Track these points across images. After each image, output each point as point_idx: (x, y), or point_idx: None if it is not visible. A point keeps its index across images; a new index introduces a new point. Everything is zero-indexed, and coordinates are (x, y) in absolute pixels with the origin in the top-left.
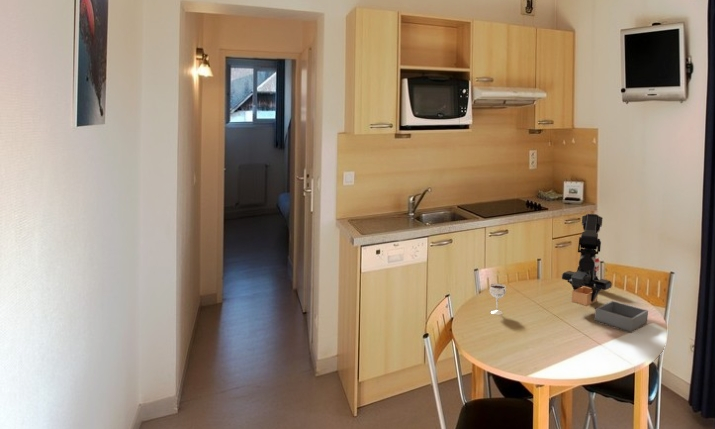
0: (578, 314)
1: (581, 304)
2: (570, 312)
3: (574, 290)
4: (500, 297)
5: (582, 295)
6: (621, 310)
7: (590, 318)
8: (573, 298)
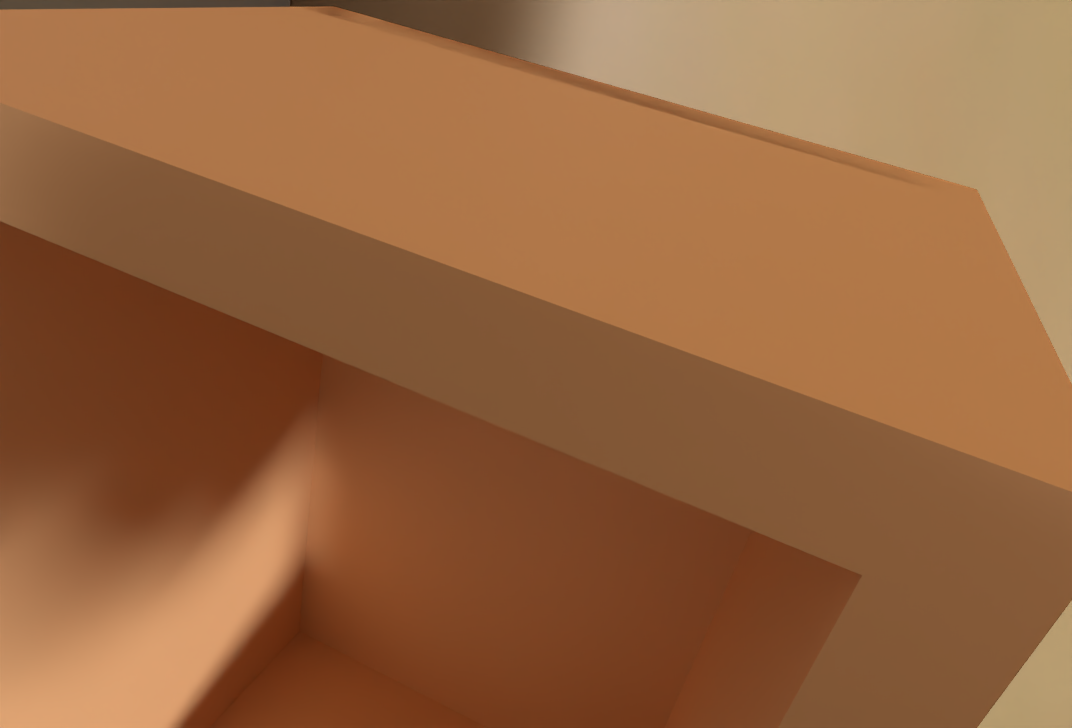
0: (712, 107)
1: (510, 63)
2: (950, 127)
3: (873, 659)
4: None
5: (182, 99)
6: None
7: (414, 15)
8: (888, 204)
